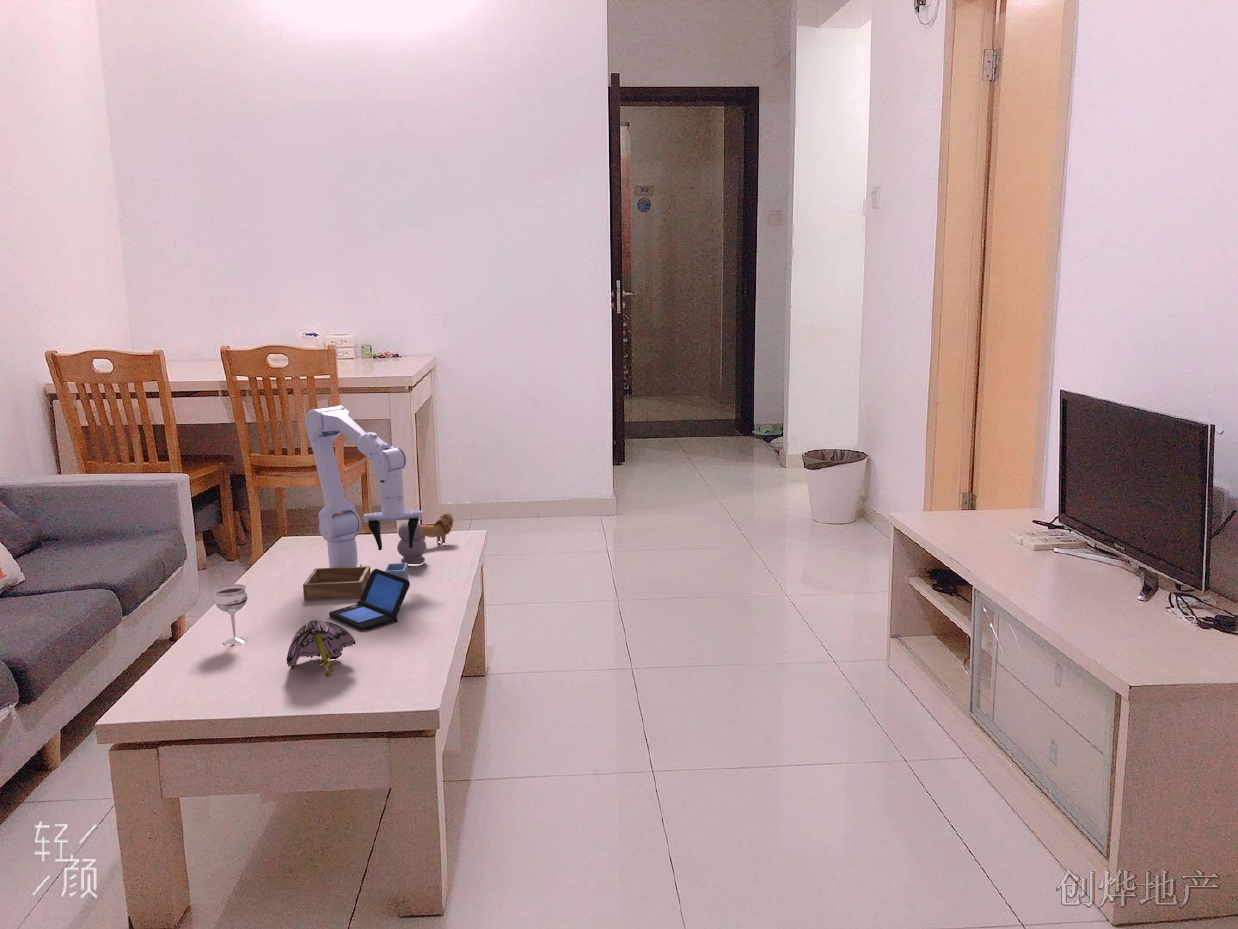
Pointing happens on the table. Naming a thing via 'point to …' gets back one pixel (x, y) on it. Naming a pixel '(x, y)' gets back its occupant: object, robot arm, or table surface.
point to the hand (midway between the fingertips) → (395, 548)
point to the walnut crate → (336, 583)
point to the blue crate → (398, 569)
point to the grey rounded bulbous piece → (418, 548)
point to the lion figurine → (439, 528)
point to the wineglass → (231, 604)
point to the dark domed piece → (319, 643)
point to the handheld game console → (375, 602)
